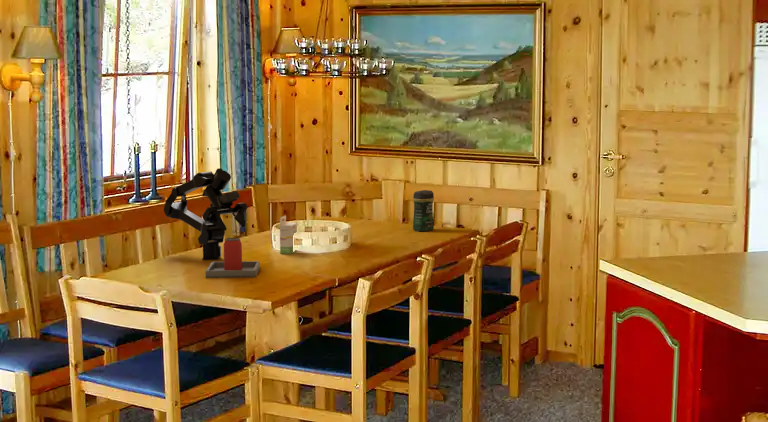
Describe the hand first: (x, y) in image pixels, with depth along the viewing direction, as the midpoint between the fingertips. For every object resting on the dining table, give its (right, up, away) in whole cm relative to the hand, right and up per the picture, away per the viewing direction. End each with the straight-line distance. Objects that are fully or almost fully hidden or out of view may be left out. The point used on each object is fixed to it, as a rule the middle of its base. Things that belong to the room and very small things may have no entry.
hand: (235, 228), depth 402 cm
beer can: (+2, -16, -17) cm, 23 cm away
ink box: (+18, -10, +25) cm, 33 cm away
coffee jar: (+76, -2, +79) cm, 109 cm away
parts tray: (+2, -16, -17) cm, 23 cm away
